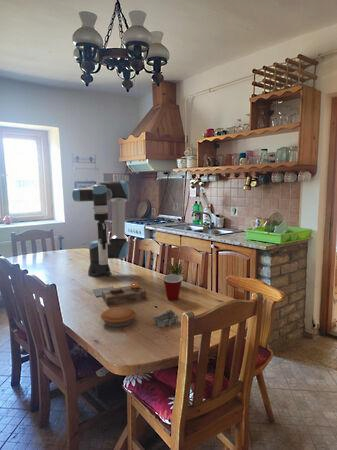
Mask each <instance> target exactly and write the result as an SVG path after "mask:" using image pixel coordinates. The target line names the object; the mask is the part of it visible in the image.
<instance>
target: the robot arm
mask: <svg viewBox="0 0 337 450" xmlns="http://www.w3.org/2000/svg"><path fill="white" fill-rule="evenodd" d="M71 193H72V200H73V201H74V202H79V203H80V202H93V207H92V209H93V212H94V214H93V218H94V219H93V220H94V221H97V223H96V224H97V239H95V240H92V241H91V242H90V243H89V244H88V246H89V247H88V249H89V262H90V263H89V268H88V270H87V275H88V276H89V277H104V276H108V275H110V274H111V267H110V265H109V263H108V264H106V265H100V264H99V251H98V239H101V243H100V244H101V253H102V255H107V250H108V260H109V259H110V260H111V259H116V260H118V259H119V260H120V259H126V258H127V257H128V255H129V250H130V242H129V241H128V240H127V238H126V236H125V228H126V225H125V224H126V202H128V199H129V198H130V196H131V195H130V194H131V191H130V186H129V183H128V181H125V180H116V181H108V180H107V181H101V182H97V183H94V184H93V185H92V186H87V187H83V188H78V187H77V188H74V189H72V192H71ZM108 201H111V202H112V216H111V217H112V218H111V219H112V220H111V222H112V223H111V228H112V229H111V237H110V238H109V241H108V239H107V238H108V236H107V224H106V223H105V221H108V220H109V214H108V212H109V211H108V209H109V208H108V207H109V206H108ZM106 243H107V250H106Z"/></svg>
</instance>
